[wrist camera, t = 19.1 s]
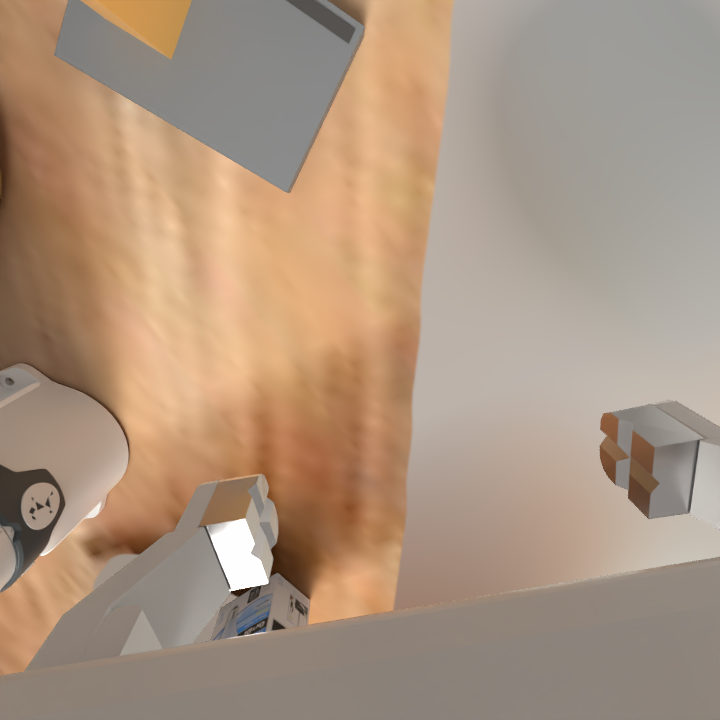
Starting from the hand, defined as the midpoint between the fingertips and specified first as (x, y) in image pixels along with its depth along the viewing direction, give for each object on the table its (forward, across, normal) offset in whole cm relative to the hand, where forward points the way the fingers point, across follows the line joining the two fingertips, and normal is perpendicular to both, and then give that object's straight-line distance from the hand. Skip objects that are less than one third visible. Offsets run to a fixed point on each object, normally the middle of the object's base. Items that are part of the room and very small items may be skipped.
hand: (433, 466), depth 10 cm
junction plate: (+31, +9, -19) cm, 37 cm away
